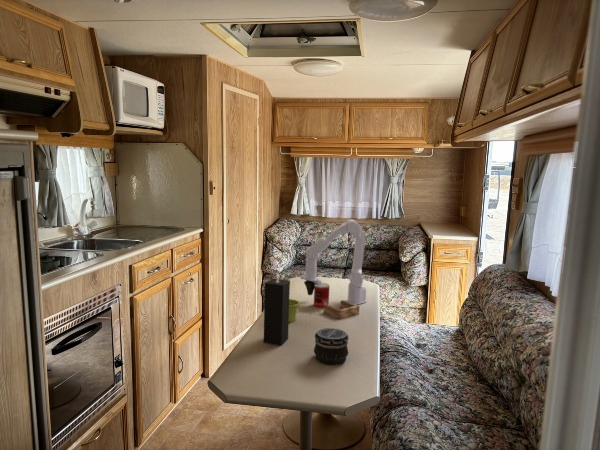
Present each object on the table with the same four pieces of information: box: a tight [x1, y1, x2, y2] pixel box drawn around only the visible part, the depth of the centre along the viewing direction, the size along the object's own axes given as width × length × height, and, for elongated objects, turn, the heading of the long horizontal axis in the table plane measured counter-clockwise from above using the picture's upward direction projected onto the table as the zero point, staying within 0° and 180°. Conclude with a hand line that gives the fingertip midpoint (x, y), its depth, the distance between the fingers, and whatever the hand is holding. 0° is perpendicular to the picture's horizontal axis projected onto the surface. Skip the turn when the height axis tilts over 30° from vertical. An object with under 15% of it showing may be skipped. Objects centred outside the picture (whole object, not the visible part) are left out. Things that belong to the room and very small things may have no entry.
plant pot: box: [289, 298, 300, 323], centre depth 201 cm, size 9×9×9 cm
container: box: [313, 327, 349, 366], centre depth 162 cm, size 13×13×10 cm
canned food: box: [313, 282, 330, 309], centre depth 224 cm, size 8×8×11 cm
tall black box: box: [263, 273, 291, 346], centre depth 175 cm, size 8×8×28 cm
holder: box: [323, 299, 360, 320], centre depth 213 cm, size 13×12×4 cm
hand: (310, 294), depth 231 cm, fingers closed
